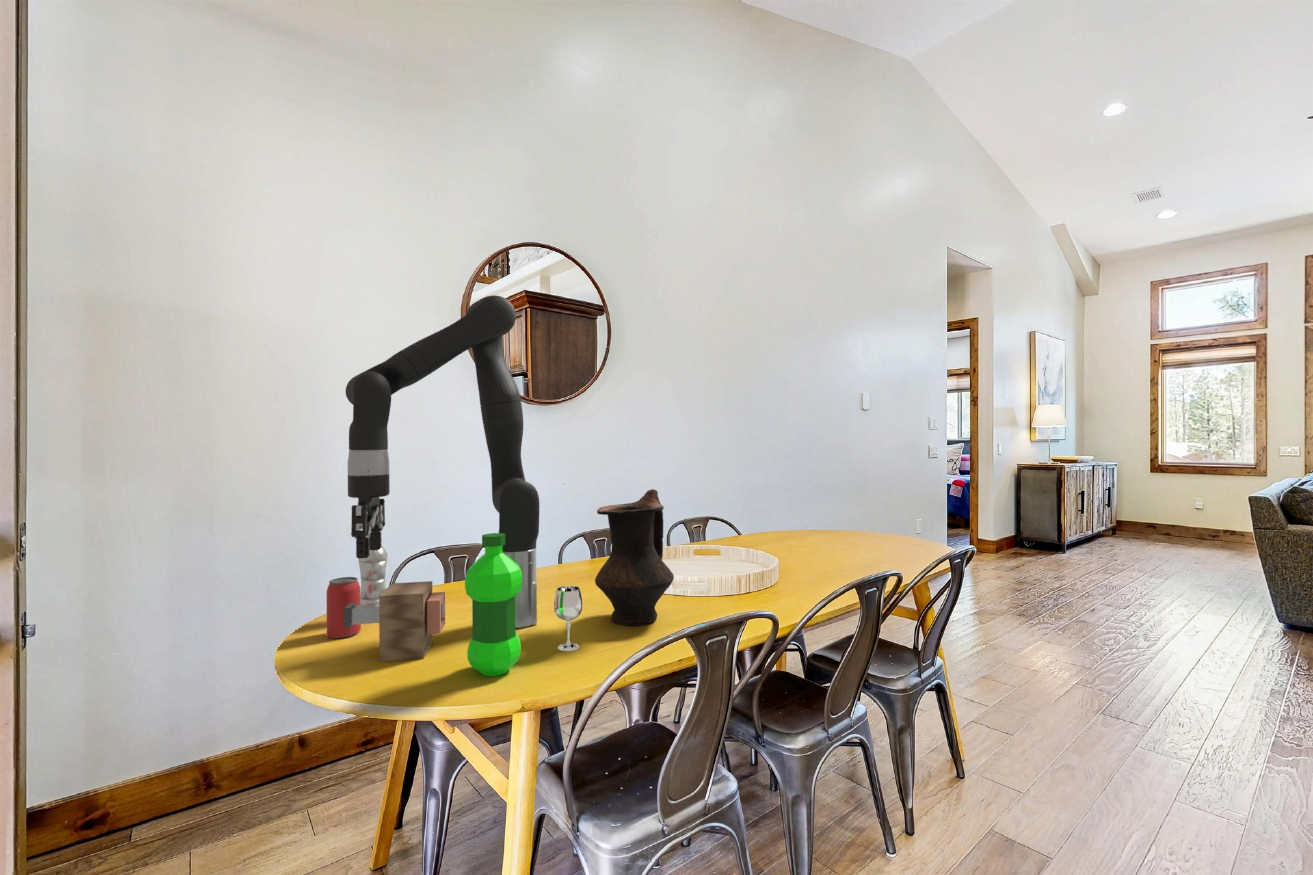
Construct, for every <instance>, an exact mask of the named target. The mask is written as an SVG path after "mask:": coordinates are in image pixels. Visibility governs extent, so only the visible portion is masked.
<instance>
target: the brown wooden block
mask: <svg viewBox="0 0 1313 875" xmlns="http://www.w3.org/2000/svg"><path fill="white" fill-rule="evenodd" d="M432 593H433V581H432V580H430V581H429V580H428V581H411V582H396V583H395V582H393V583H390V584H389V585H388V587H387V588H386V590H385V591H384V592H383V593H382V594H381V595H380V596H379V623H378V625H379V630H378V632H379V635H378V636H379V637H378V638H379V646H378V647H379V648H378V649H379V663H382V662H383V663H384V662H397V661H409V660H410V661H411V660H422V659H425V657H426V655H427V653H428V651H429V649H430V647H431V646H432V643H433V637H434V636H433V635H434V634H427V620H426V601H428V599H429V598H430V596H431V595H432Z"/></svg>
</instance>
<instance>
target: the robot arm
mask: <svg viewBox="0 0 1313 875" xmlns="http://www.w3.org/2000/svg"><path fill="white" fill-rule="evenodd" d="M516 319H517V312H516V309H515V307H514V305H513V304H512V303H511V301H509V300H508V299H507V298H505V297H504V296H500V295H493V294H492V295H486V296H485V297H482V298H481V299H478V300H476V301H475V302H474V303H472V304H471V305H470V306H469V307H468V309H466V313H465V315H464V316H462V317H461V318H459V319H458V320H456V321H455V322H453V323H451V324H449V325H448V326H446V327H444V328H442V329H440V330H438V331H435V332H434V333H432V334H429V335H428V336H425V337H424V338H422V339H419V340H417V341H415V342H414V343H412V344H410V345H408V346H406V347H405V348H403V349H401V350H399V351H398V352H396V353H394V354H393V355H392V356H390V357H389V358H387V359H385V361H383V362H381V363H377V365H374V366H372V367H370V368H368V369H366V370H364V371H362V372H360V373H359V374H357V375H355V376H353V377H352V378H351V379H350V380H349V381H348V382H347V384H346V385H345V396H346V398H347V400H348V402H349V403H350V405H352V406H353V407H352V421H351V424H350V425H349V427H348V458H347V496H348V497H349V498H353V499H358V501H357V504H355V505H352V506H351V527H350V528H351V533H350V536H351V538H354V539H355V541H356V542H355V543H356V544H355V552H356V553H355V556H356V558H357V559H358V558H368V557H369V556H370V550H380V549H381V545H382V541H381V539H382V532H383V529H384V527H385V525H386V519H385V517H386V513H385V511H386V510H385V508H386V507H385V504H386V503H385V498H382V497H387V496H389V495H390V490H391V488H390V486H391V485H390V482H391V481H390V457H389V450H388V449H389V442H388V441H389V436H388V424H389V420H390V413H391V407H392V406H391V405H392V395H394V394H395V393H397V392H399V391H400V390H402V389H404V388H407V387H409V386H410V387H411V386H413V385H414V384H416V383H418V382H420V381H421V380H423V379H425V378H426V377H427V376H429V375H431V374H432V373H434V372H436V371H437V370H439V369H440V368H441V367H443V366H444V365H446V364H448V363H449V362H450V361H452V360H453V359H456V358H457V357H458V356H459V355H461V354H462V353H464V352H466V351H467V350H469V349H471V350H472V355H473V356H472V357H473V361H474V364H475V366H474V367H475V374H476V382H477V390H478V396H479V404H480V412H481V419H482V426H483V430H484V436H485V441H486V446H487V447H486V448H487V451H488V456H489V460H490V473H491V474H490V475H491V477H490V478H491V499H492V500H491V501H492V504H493V506H494V509H495V510H496V511H497V513H498V517H499V518H498V533H503V534H505V545H502V552H503V553H504V554H505V555H507V556H508V557H509V558H511V559H512V560H513V561H514V562H515V563H516V564H517V565H519V567H520V570H521V572H522V586H521V591H520V592H519V593H518V594H517V595H516V596H515V629H519V628H525V627H529V626H530V627H531V626H532V625H537V623H538V621H537V620H538V618H537V617H538V607H537V605H538V600H537V597H538V596H537V594H538V593H537V590H538V587H537V583H538V582H537V581H538V580H537V541H538V540H537V539H538V537H539V532H540V497H539V496H540V495H539V492H538V491H537V489H536V487H535V486H534V485H533V484H532V483H531V482H528V481H526V477H525V473H524V468H523V462H522V445H523V435H524V412H523V405H522V398H521V395H520V394H521V393H520V390H519V388H518V386H517V383H516V381H515V379H514V377H513V375H512V373H511V371H510V370H509V367H508V365H507V362H506V358H505V352H504V344H503V336H504V335H506V334H507V333H509V332H510V331H511V330H512V329H513V328H514V326H515V323H516Z"/></svg>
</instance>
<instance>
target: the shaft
mask: <svg viewBox="0 0 1313 875" xmlns="http://www.w3.org/2000/svg"><path fill="white" fill-rule="evenodd" d="M444 615H445V616H446V599H445V600H443V602H442V604H441V619H443V617H444ZM426 620H427V601H426ZM354 624H361V625H365V624H366V625H367V624H368V625H369V624H379V604H366V605H356V603H349V604H348V605H347V606H346V607H345V608H344V628H348V627H351V626H352V625H354Z"/></svg>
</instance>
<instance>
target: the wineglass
mask: <svg viewBox="0 0 1313 875" xmlns="http://www.w3.org/2000/svg"><path fill="white" fill-rule="evenodd" d="M553 610H554V614H555V616H556V617H557V618H558V619H560V620H562V621H566V623H565V628H566V631H567V632H566V633H567V636H566V638H567V639H566V642H565V643H561V644H559V645H558V646H557V650H558V651H560V652H574V651H576V650H578V649H579V648H580V645H579V644H578V643H572V642H571V640H570V631H571V626H572V624H571V621H573V620H575V619H577V618H578V617H579V616H580V615H581V614H582V611H583V597H582V592H581V588H580V587H579V586H575V585H563V586H560V587H557V588H556V591H555V593H554V601H553Z"/></svg>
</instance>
